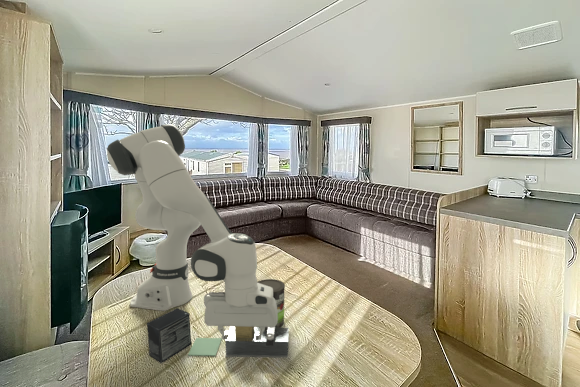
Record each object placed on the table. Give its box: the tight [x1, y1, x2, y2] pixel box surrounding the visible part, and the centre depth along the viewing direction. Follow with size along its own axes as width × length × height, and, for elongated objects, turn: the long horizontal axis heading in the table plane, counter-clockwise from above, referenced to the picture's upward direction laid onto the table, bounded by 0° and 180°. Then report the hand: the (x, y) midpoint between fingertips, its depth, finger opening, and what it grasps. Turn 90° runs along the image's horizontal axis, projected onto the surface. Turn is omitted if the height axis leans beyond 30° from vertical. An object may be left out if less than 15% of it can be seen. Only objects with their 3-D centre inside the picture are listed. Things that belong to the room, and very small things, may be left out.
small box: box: [146, 307, 193, 364], centre depth 93 cm, size 11×6×10 cm, turn 145°
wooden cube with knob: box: [234, 326, 254, 338], centre depth 94 cm, size 5×5×5 cm
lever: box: [266, 327, 275, 346], centre depth 90 cm, size 2×8×3 cm, turn 179°
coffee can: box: [257, 278, 286, 328], centre depth 106 cm, size 10×10×14 cm
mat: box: [187, 337, 223, 357], centre depth 95 cm, size 8×8×1 cm
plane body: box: [225, 326, 290, 359], centre depth 94 cm, size 18×7×5 cm, turn 89°
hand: (241, 338), depth 88 cm, fingers open, 8 cm apart
